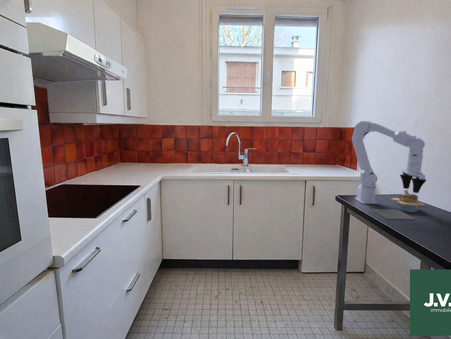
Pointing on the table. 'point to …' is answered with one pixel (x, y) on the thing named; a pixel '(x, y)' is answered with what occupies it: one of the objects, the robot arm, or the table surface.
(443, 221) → the table surface
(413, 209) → the bowl
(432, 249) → the table surface
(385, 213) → the mat
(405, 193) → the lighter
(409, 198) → the lid
